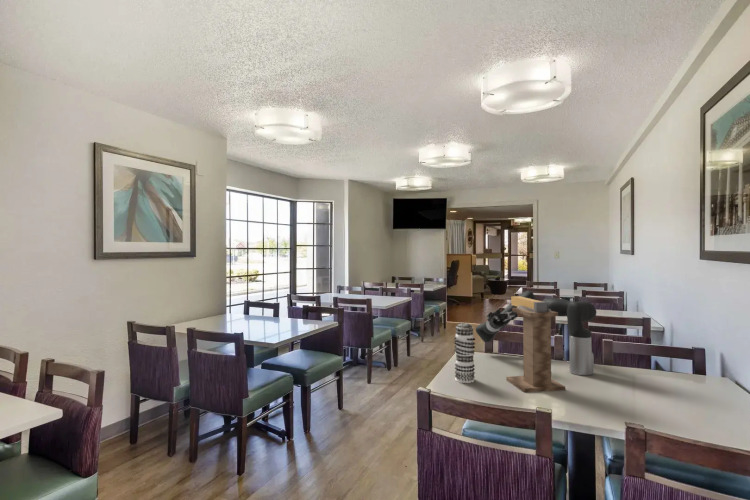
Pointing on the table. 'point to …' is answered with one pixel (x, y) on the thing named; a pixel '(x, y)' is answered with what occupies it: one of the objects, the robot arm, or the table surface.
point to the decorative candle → (464, 353)
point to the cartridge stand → (536, 352)
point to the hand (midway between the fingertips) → (507, 310)
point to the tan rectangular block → (529, 303)
